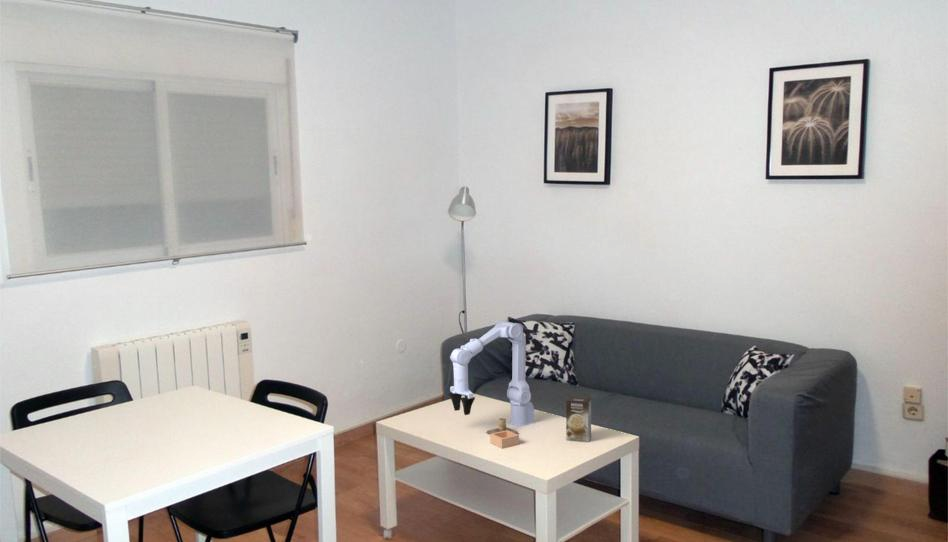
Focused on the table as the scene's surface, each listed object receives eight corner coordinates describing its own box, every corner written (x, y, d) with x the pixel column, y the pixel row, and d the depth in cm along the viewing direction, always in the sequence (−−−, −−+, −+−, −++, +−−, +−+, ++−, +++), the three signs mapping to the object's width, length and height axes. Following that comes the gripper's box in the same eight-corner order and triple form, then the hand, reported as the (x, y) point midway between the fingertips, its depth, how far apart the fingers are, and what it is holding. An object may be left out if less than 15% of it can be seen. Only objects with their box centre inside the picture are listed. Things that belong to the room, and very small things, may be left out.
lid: (505, 428, 315) (504, 414, 315) (518, 434, 308) (517, 419, 307) (487, 432, 311) (486, 418, 310) (499, 438, 303) (499, 424, 303)
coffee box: (565, 440, 299) (564, 400, 298) (569, 435, 305) (568, 396, 304) (589, 442, 296) (588, 401, 295) (592, 437, 302) (591, 397, 301)
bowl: (507, 440, 302) (507, 430, 302) (519, 445, 295) (518, 435, 295) (490, 444, 298) (490, 434, 297) (502, 449, 291) (501, 439, 291)
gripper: (443, 377, 309) (444, 410, 311) (461, 384, 297) (463, 418, 298) (458, 374, 313) (459, 407, 314) (477, 381, 301) (478, 415, 302)
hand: (462, 412), depth 307 cm, fingers open, 7 cm apart
